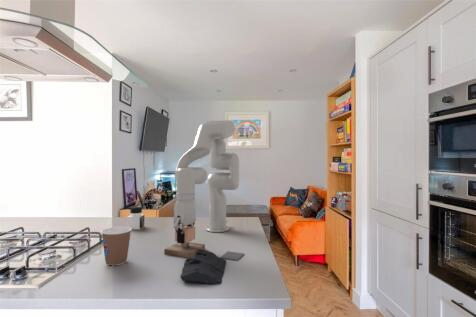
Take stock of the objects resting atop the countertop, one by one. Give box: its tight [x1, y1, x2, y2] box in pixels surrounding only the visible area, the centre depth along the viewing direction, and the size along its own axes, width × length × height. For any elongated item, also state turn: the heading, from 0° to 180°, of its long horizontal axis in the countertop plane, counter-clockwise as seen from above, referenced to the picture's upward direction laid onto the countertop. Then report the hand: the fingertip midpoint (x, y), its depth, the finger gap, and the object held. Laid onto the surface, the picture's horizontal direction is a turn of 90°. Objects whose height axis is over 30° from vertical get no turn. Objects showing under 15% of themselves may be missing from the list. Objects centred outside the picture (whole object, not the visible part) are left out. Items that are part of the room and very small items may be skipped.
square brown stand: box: [163, 241, 206, 259], centre depth 112 cm, size 12×12×9 cm
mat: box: [219, 250, 245, 262], centre depth 107 cm, size 8×7×1 cm
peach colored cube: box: [174, 226, 196, 243], centre depth 112 cm, size 6×6×5 cm
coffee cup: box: [100, 226, 133, 267], centre depth 100 cm, size 10×10×12 cm
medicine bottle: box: [126, 205, 145, 231], centre depth 151 cm, size 7×7×12 cm
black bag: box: [180, 249, 227, 285], centre depth 93 cm, size 15×22×5 cm
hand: (185, 240), depth 112 cm, fingers closed on peach colored cube, 6 cm apart
